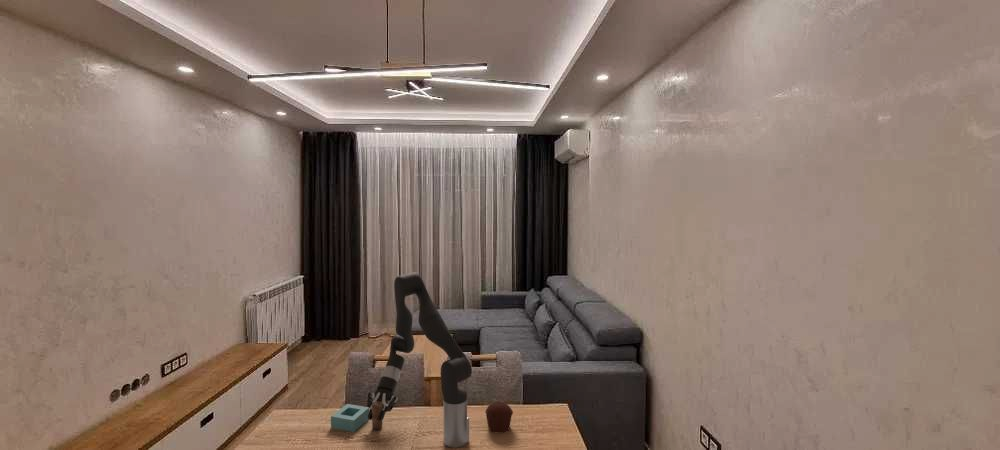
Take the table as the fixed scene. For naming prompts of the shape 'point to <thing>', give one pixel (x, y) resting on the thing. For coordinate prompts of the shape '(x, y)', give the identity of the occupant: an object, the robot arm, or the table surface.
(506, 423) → the muffin
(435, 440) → the table surface
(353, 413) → the socket block
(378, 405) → the peg
